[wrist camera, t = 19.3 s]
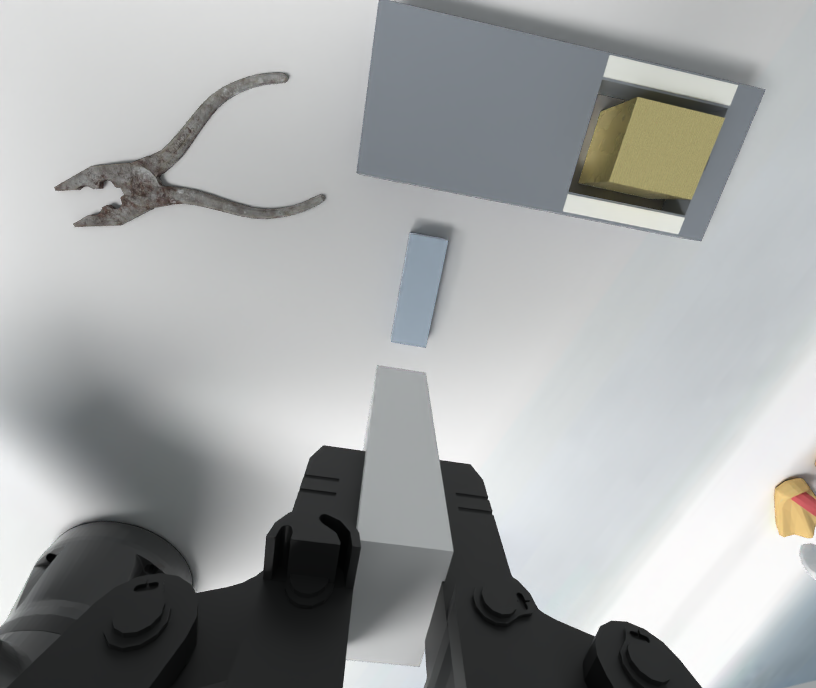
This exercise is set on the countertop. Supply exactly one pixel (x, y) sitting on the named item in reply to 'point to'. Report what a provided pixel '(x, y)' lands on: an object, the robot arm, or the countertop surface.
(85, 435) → the countertop surface
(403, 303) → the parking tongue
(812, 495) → the toy
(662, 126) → the block
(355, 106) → the countertop surface
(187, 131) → the pliers
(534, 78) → the rail board
